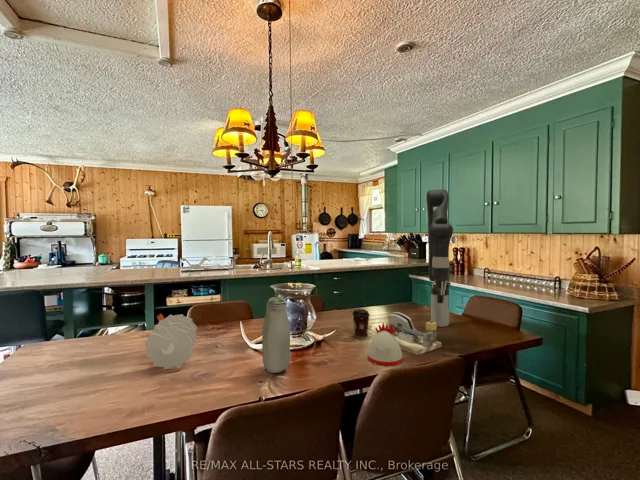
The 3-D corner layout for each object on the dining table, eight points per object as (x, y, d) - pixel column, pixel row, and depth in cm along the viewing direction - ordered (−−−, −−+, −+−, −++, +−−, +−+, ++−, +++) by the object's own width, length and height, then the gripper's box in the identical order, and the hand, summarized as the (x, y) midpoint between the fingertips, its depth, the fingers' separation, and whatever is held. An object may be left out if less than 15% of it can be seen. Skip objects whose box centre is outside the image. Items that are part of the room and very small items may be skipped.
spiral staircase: (187, 358, 145) (180, 380, 121) (147, 344, 140) (132, 364, 116) (205, 319, 147) (202, 333, 123) (167, 305, 143) (156, 316, 119)
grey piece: (417, 332, 168) (413, 315, 166) (411, 336, 166) (406, 319, 164) (396, 324, 183) (391, 308, 181) (389, 328, 181) (385, 312, 179)
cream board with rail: (403, 334, 165) (403, 319, 165) (441, 346, 147) (441, 330, 147) (379, 340, 155) (379, 325, 155) (416, 355, 137) (417, 337, 137)
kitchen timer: (400, 368, 124) (400, 329, 124) (364, 363, 129) (364, 325, 129) (403, 355, 138) (403, 320, 137) (371, 351, 142) (371, 317, 142)
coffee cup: (350, 337, 160) (350, 311, 159) (354, 332, 167) (354, 308, 167) (367, 340, 156) (367, 313, 156) (371, 335, 164) (371, 309, 164)
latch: (431, 327, 151) (431, 319, 151) (436, 329, 149) (436, 321, 149) (425, 329, 149) (425, 320, 149) (431, 330, 146) (431, 322, 146)
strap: (397, 327, 159) (397, 324, 159) (426, 335, 145) (426, 333, 145) (393, 328, 157) (393, 325, 157) (421, 337, 143) (421, 334, 143)
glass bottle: (278, 379, 115) (278, 301, 114) (257, 372, 120) (256, 297, 120) (295, 369, 123) (295, 296, 123) (274, 363, 129) (274, 293, 128)
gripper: (442, 264, 159) (442, 299, 160) (424, 266, 152) (424, 303, 152) (456, 266, 153) (455, 302, 153) (438, 268, 145) (438, 306, 146)
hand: (440, 302), depth 153 cm, fingers closed
